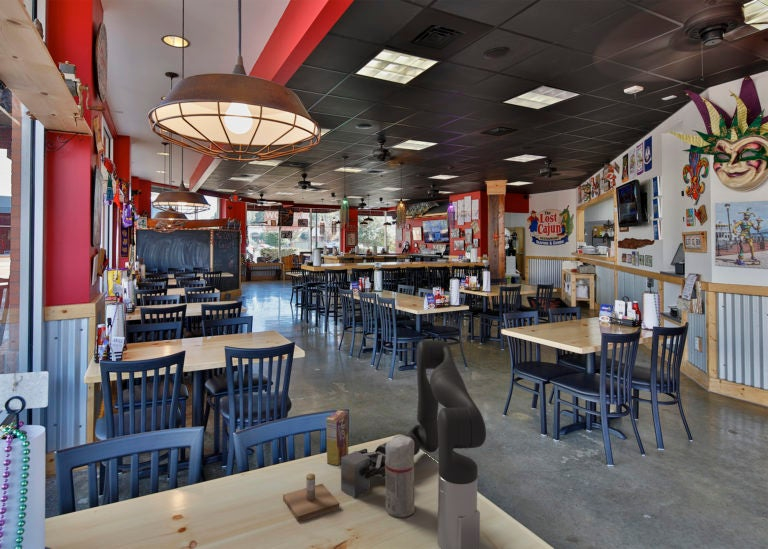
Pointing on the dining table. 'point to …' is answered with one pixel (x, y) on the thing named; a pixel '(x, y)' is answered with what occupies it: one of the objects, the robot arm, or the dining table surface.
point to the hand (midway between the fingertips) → (355, 470)
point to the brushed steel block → (355, 474)
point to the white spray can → (400, 476)
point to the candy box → (337, 437)
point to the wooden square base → (310, 500)
